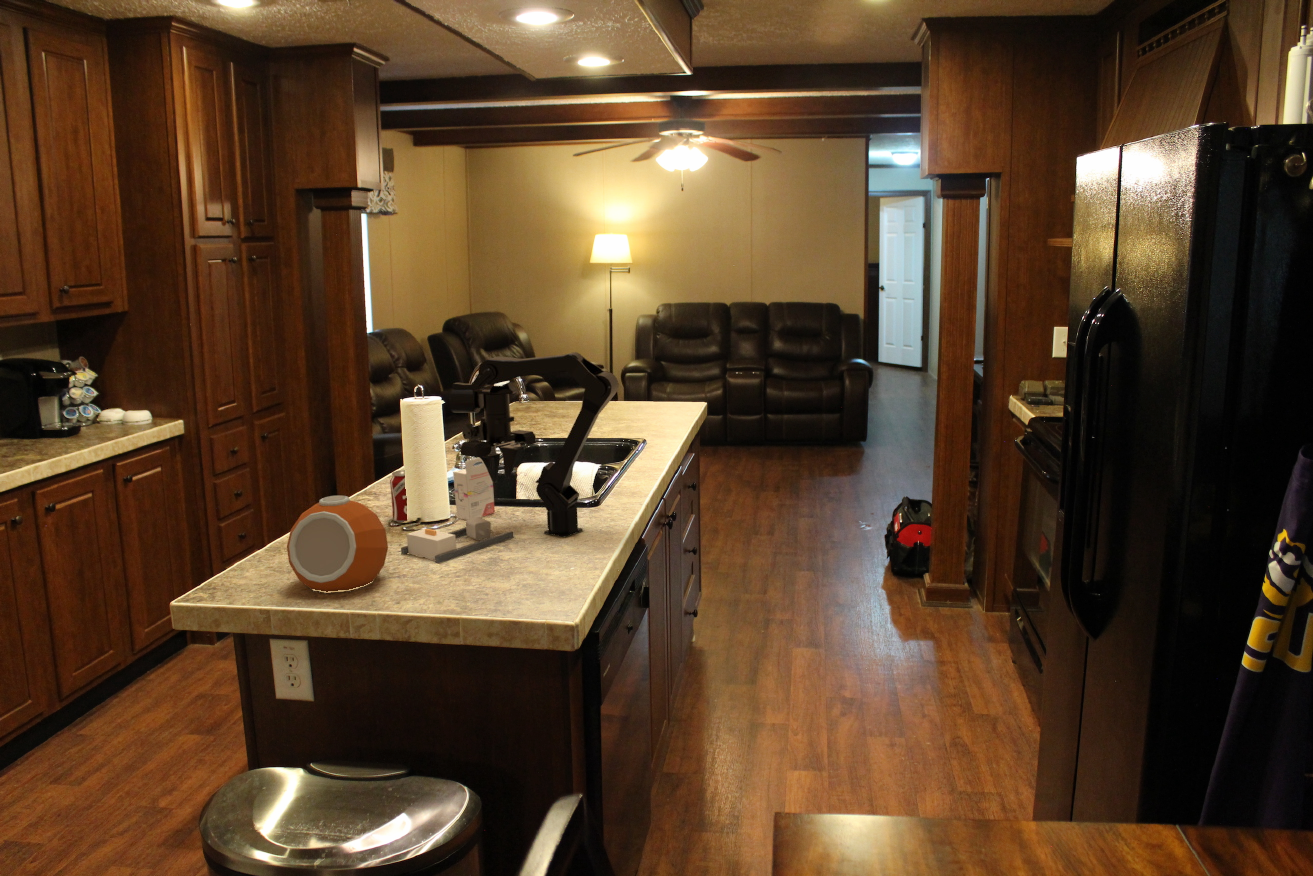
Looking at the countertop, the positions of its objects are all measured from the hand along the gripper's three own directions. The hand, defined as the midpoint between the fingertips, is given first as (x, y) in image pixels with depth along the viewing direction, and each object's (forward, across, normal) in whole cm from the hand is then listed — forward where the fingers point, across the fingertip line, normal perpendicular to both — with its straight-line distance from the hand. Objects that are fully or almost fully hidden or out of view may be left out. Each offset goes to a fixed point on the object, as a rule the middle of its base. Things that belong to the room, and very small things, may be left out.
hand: (501, 480), depth 236 cm
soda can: (+12, +6, -27) cm, 30 cm away
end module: (+12, +22, 0) cm, 25 cm away
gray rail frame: (+12, +14, 0) cm, 18 cm away
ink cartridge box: (+12, -6, -16) cm, 21 cm away
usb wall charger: (+12, +7, 0) cm, 14 cm away
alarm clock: (+12, +44, -1) cm, 46 cm away
